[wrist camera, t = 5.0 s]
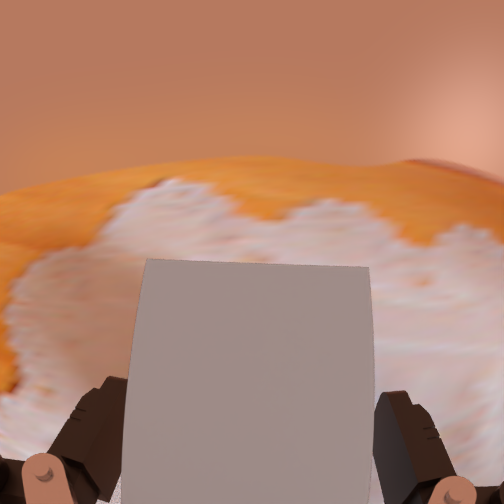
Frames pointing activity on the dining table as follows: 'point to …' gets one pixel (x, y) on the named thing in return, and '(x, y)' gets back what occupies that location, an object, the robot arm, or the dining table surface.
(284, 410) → the slab
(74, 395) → the dining table surface
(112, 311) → the dining table surface
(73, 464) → the robot arm
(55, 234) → the dining table surface
